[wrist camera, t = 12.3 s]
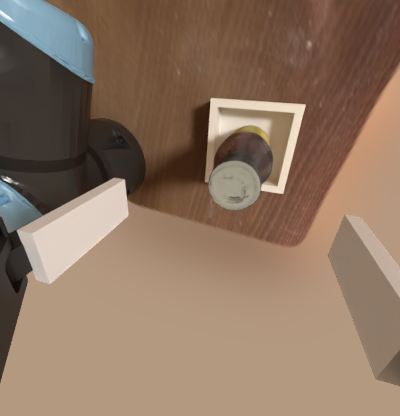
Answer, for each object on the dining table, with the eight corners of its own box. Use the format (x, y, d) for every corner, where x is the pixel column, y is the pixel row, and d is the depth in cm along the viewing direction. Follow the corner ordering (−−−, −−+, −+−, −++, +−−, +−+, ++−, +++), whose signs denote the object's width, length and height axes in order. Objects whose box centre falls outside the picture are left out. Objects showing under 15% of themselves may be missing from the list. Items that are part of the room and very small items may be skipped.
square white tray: (210, 174, 39) (204, 181, 35) (216, 98, 33) (210, 98, 30) (281, 184, 36) (283, 193, 33) (301, 103, 31) (305, 104, 27)
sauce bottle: (258, 171, 35) (249, 242, 18) (222, 155, 36) (181, 209, 19) (279, 132, 32) (293, 173, 15) (240, 114, 32) (210, 135, 15)
